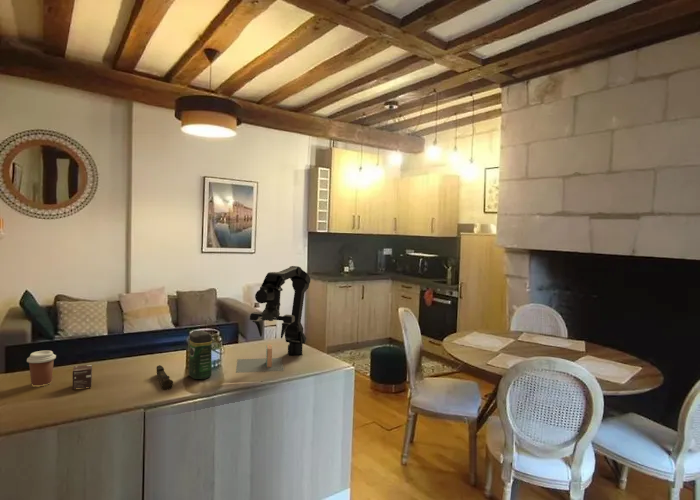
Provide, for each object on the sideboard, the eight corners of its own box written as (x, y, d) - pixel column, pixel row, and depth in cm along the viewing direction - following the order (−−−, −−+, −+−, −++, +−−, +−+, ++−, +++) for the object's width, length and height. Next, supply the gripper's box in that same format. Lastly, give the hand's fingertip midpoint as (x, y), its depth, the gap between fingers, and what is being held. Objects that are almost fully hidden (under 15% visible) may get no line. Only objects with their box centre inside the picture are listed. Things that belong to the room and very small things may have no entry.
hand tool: (173, 389, 165) (173, 377, 165) (161, 391, 163) (161, 379, 163) (165, 374, 182) (165, 363, 181) (155, 375, 180) (155, 364, 179)
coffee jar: (214, 377, 179) (215, 332, 178) (195, 381, 174) (195, 335, 173) (205, 371, 186) (205, 327, 185) (186, 374, 181) (187, 330, 180)
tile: (271, 361, 199) (271, 344, 199) (271, 366, 192) (272, 348, 192) (266, 362, 199) (266, 344, 198) (266, 367, 192) (266, 349, 191)
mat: (281, 359, 206) (281, 357, 206) (283, 372, 188) (283, 370, 188) (237, 360, 201) (237, 359, 201) (235, 373, 184) (235, 372, 184)
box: (72, 390, 161) (72, 371, 160) (73, 385, 166) (73, 366, 166) (91, 388, 164) (91, 369, 163) (92, 383, 169) (92, 364, 169)
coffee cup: (53, 378, 172) (53, 348, 172) (58, 384, 166) (58, 353, 165) (24, 383, 166) (24, 352, 165) (29, 390, 160) (28, 358, 159)
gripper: (246, 301, 184) (243, 339, 184) (289, 305, 182) (287, 342, 182) (255, 299, 195) (253, 334, 195) (296, 302, 193) (293, 337, 193)
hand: (271, 337), depth 191 cm, fingers open, 9 cm apart
